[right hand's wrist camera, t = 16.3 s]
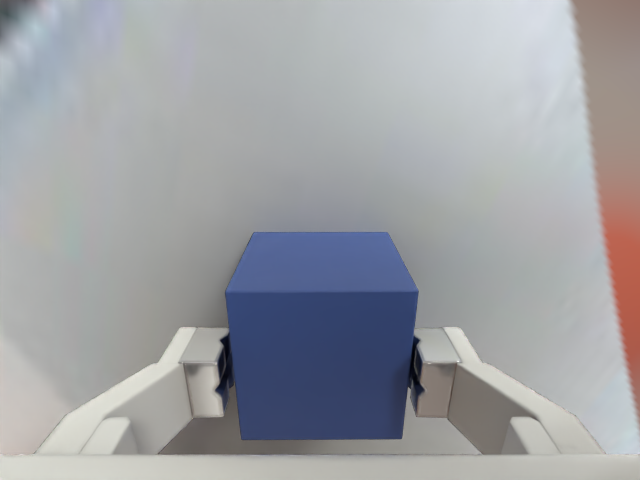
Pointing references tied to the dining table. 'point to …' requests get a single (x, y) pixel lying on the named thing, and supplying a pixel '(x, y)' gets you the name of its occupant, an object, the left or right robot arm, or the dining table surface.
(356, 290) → the block
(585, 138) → the dining table surface
